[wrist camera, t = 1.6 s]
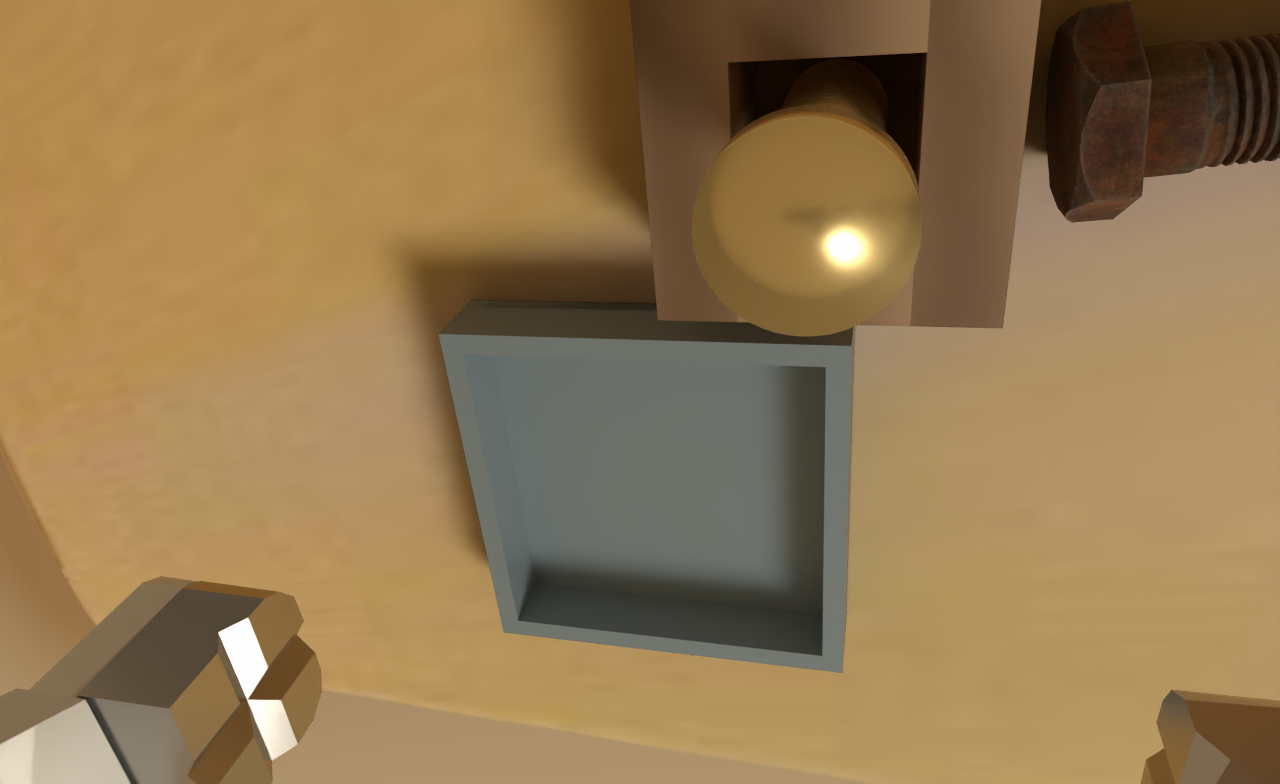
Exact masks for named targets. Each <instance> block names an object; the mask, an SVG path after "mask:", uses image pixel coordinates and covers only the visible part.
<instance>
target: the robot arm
mask: <svg viewBox="0 0 1280 784" xmlns="http://www.w3.org/2000/svg"><path fill="white" fill-rule="evenodd" d="M303 622H304V620H303V617H302V615H301V613H300V610H299V608H298V605H297V603H296V601H295V598H294V596H290V595H287V594H284V593H281V592H276V591H269V590H262V589H255V588H248V587H241V586H233V585H226V584H219V583H212V582H205V581H199V582H198V581H191V580H184V579H177V578H170V577H163V576H161V577H158V578H155V579H152V580H149V581H147V582H144V583H142V584H141V585H140V586H139V587H138V588H137V589H136V590H135V591H133V592H132V593H131V594H130V595H129V596H128V597H127V598H126V599H125V600H124V601H123V602H122V603H121V604H120V605H119V606H118V607H116V608H115V609H114V610H113V611H112V612H111V613H110V614H109V615H108V616H107V617H106V618H105V619H104V620H103V621H102V622H101V623H100V624H98V625H97V626H96V627H95V628H94V629H93V630H92V631H91V632H90V633H89V634H88V635H87V636H86V637H85V638H84V639H83V640H81V641H80V643H78V644H77V645H76V646H75V647H74V648H73V649H72V650H71V651H70V652H69V653H68V654H67V655H66V656H64V657H63V658H62V659H61V660H60V661H59V662H58V663H57V664H56V665H55V666H54V667H53V668H52V669H51V670H50V671H49V672H48V673H46V674H45V675H44V677H42V678H41V679H40V680H39V681H38V682H37V683H36V684H35V685H34V686H33V687H32V688H31V689H29V690H24V689H14V690H12V691H10V692H8V693H6V694H4V695H2V696H0V784H271V783H272V781H273V780H272V760H273V759H275V758H276V757H278V756H280V755H281V754H283V753H284V752H286V751H288V750H289V749H291V748H292V747H294V746H296V745H297V744H298V743H299V741H300V740H301V738H302V737H303V735H304V734H305V732H306V730H307V729H308V727H309V726H310V724H311V723H312V721H313V719H314V716H315V713H316V709H317V706H318V702H319V699H320V696H321V693H322V685H321V669H320V666H319V663H318V660H317V657H316V654H315V652H314V651H313V650H312V649H311V648H310V647H309V646H308V645H307V644H306V643H305V642H304V641H302V640H301V639H300V638H299V637H298V636H297V633H298V631H299V629H300V628H301V626H302V624H303ZM1157 725H1158V729H1159V732H1160V735H1161V739H1162V742H1163V745H1164V749H1162V750H1161V751H1159V752H1157V753H1156V754H1154V755H1153V756H1151V757H1149V758H1148V759H1146V763H1145V767H1144V771H1143V776H1142V780H1141V784H1280V701H1277V700H1267V699H1258V698H1248V697H1238V696H1228V695H1218V694H1208V693H1198V692H1189V691H1179V690H1171V691H1170V692H1169V694H1168V695H1167V696H1166V697H1165V699H1164V700H1163V702H1162V706H1161V709H1160V712H1159V716H1158V719H1157Z"/></svg>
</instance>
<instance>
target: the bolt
mask: <svg viewBox="0 0 1280 784" xmlns="http://www.w3.org/2000/svg"><path fill="white" fill-rule="evenodd" d="M1046 138H1047V155H1048V167H1049V180H1050V188H1051V191H1052V194H1053V197H1054V199H1055V202H1056V204H1057V207H1058V209H1059V210H1060V211H1061V213H1062V214H1063V215H1064V217H1065V218H1066V219H1067V220H1068V221H1070V222H1084V221H1095V220H1107V219H1114V218H1115V217H1116V216H1118V215H1119V214H1120V213H1121V212H1122V211H1124V210H1125V209H1126V208H1127V207H1129V206H1130V205H1131V204H1132V203H1134V202H1135V201H1136V200H1137V199H1139V198H1140V197H1141V196H1142V189H1143V178H1144V177H1153V176H1163V175H1172V174H1182V173H1190V172H1192V171H1193V170H1195V169H1199V168H1203V167H1205V166H1209V167H1216V166H1218V165H1220V164H1223V165H1225V166H1227V165H1232V164H1233V163H1234V162H1236V163H1238V164H1244V163H1247V162H1248V161H1249V160H1250V161H1252V162H1254V163H1257V162H1260V161H1262V160H1266V161H1274V160H1276V159H1278V158H1280V34H1268V35H1265V36H1253V37H1250V38H1248V39H1245V38H1236V39H1235V40H1234V41H1231V40H1224V41H1221V42H1207V43H1198V42H1195V41H1187V42H1180V43H1172V44H1165V45H1157V46H1150V47H1143V46H1142V42H1141V38H1140V35H1139V31H1138V28H1137V24H1136V20H1135V17H1134V13H1133V10H1132V6H1131V3H1130V2H1123V3H1117V4H1110V5H1104V6H1097V7H1091V8H1084V9H1082V10H1080V11H1079V12H1078V13H1076V14H1075V15H1074V16H1072V17H1071V18H1069V19H1068V20H1067V21H1066V22H1065V23H1064V24H1063V25H1062V26H1061V27H1060V28H1059V29H1058V31H1057V33H1056V36H1055V41H1054V46H1053V51H1052V55H1051V60H1050V66H1049V75H1048V88H1047V106H1046Z"/></svg>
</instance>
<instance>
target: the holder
mask: <svg viewBox="0 0 1280 784" xmlns="http://www.w3.org/2000/svg"><path fill="white" fill-rule="evenodd" d="M1040 7H1041V0H630V8H631V20H632V31H633V42H634V54H635V65H636V77H637V88H638V100H639V111H640V122H641V134H642V145H643V157H644V168H645V179H646V191H647V202H648V214H649V225H650V237H651V248H652V259H653V271H654V282H655V294H656V305H657V316H658V320H668V321H711V322H748V321H746V320H745V319H743V318H741V317H740V316H738V315H737V314H736V313H734V312H733V311H732V310H731V309H729V308H728V307H727V306H726V305H725V304H724V303H723V302H722V301H721V300H720V299H719V298H718V297H717V296H716V294H715V293H714V292H713V291H712V289H711V288H710V287H709V285H708V283H707V282H706V280H705V278H704V276H703V275H702V273H701V270H700V268H699V265H698V263H697V260H696V256H695V253H694V249H693V242H692V235H691V220H692V213H693V206H694V203H695V199H696V196H697V192H698V190H699V188H700V186H701V183H702V181H703V179H704V177H705V176H706V174H707V172H708V171H709V169H710V167H711V166H712V164H713V163H714V161H715V159H716V158H717V156H718V155H719V153H720V152H721V150H722V149H723V148H724V147H725V145H726V144H727V143H728V142H729V141H730V140H731V139H732V138H733V137H734V136H735V135H736V134H737V133H738V132H739V131H740V130H742V129H743V128H744V127H746V126H747V125H749V124H750V123H751V122H753V121H755V120H756V100H755V62H754V61H768V60H787V59H807V58H827V57H846V56H866V55H885V54H905V53H921V67H920V84H919V100H918V117H917V134H916V151H915V168H914V173H915V177H916V180H917V183H918V187H919V193H920V200H921V215H922V236H921V244H920V250H919V253H918V257H917V260H916V263H915V266H914V268H913V270H912V272H911V275H910V277H909V278H908V280H907V282H906V283H905V285H904V286H903V288H902V289H901V291H900V292H899V293H898V294H897V295H896V297H895V298H894V299H893V300H892V301H891V302H890V303H889V304H888V305H887V306H886V307H885V308H884V309H883V310H881V311H880V312H878V313H877V314H876V315H874V316H873V317H872V318H870V319H868V320H866V321H865V322H863V323H861V324H859V325H883V326H926V327H969V328H1003V323H1004V314H1005V306H1006V297H1007V288H1008V280H1009V271H1010V263H1011V254H1012V246H1013V237H1014V229H1015V220H1016V212H1017V203H1018V195H1019V186H1020V178H1021V169H1022V161H1023V152H1024V144H1025V135H1026V126H1027V118H1028V109H1029V101H1030V92H1031V84H1032V75H1033V67H1034V58H1035V50H1036V41H1037V33H1038V24H1039V16H1040Z"/></svg>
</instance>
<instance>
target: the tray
mask: <svg viewBox="0 0 1280 784" xmlns="http://www.w3.org/2000/svg"><path fill="white" fill-rule="evenodd" d="M439 339H440V344H441V348H442V353H443V357H444V362H445V366H446V371H447V376H448V380H449V385H450V389H451V394H452V398H453V403H454V407H455V412H456V417H457V421H458V426H459V430H460V435H461V439H462V444H463V448H464V453H465V458H466V462H467V467H468V471H469V476H470V480H471V485H472V489H473V494H474V499H475V503H476V508H477V512H478V517H479V521H480V526H481V530H482V535H483V540H484V544H485V549H486V553H487V558H488V562H489V567H490V572H491V576H492V581H493V585H494V590H495V594H496V599H497V603H498V608H499V613H500V617H501V622H502V626H503V631H504V632H505V633H513V634H521V635H530V636H538V637H546V638H555V639H563V640H571V641H580V642H588V643H597V644H605V645H613V646H622V647H630V648H638V649H647V650H655V651H663V652H672V653H680V654H688V655H697V656H705V657H713V658H722V659H730V660H738V661H747V662H755V663H763V664H772V665H780V666H788V667H797V668H805V669H813V670H822V671H830V672H838V673H843V659H844V646H845V632H846V615H847V581H848V546H849V512H850V478H851V444H852V410H853V375H854V341H855V326H854V327H852V328H850V329H847V330H844V331H841V332H837V333H833V334H828V335H822V336H806V337H802V336H790V335H785V334H780V333H775V332H772V331H769V330H766V329H763V328H760V327H758V326H756V325H754V324H752V323H750V322H711V321H668V320H658V316H657V305H656V304H634V303H580V302H526V301H472V300H471V301H470V303H469V304H468V305H467V306H466V307H465V308H464V309H463V310H462V311H461V312H460V313H459V314H458V315H457V316H456V317H455V318H454V319H453V320H452V321H451V322H450V323H449V324H448V325H447V326H446V327H445V328H444V329H443V330H442V331H441V332H440V333H439Z"/></svg>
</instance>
